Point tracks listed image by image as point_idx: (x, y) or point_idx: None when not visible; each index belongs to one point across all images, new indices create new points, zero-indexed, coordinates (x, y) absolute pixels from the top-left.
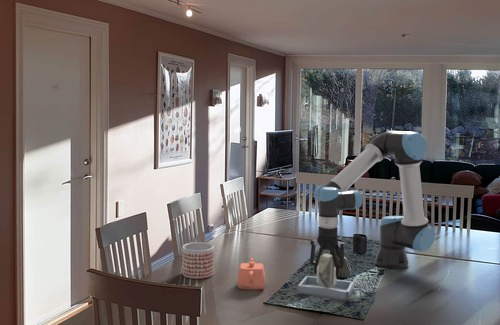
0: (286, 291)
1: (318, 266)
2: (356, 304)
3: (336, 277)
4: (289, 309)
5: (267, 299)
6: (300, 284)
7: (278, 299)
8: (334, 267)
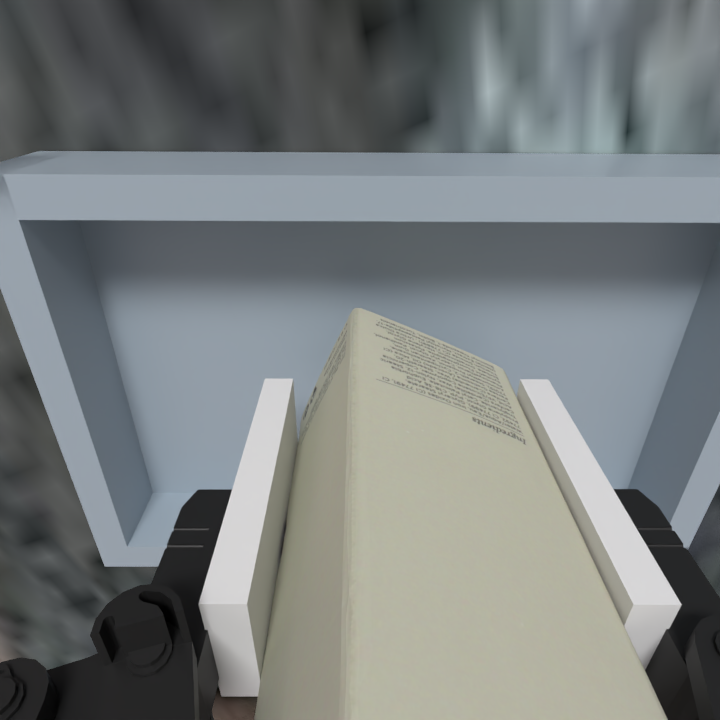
0: (15, 484)
1: (238, 665)
2: (700, 538)
3: (579, 445)
4: (229, 710)
5: (4, 647)
6: (113, 536)
7: (73, 628)
8: (618, 641)
